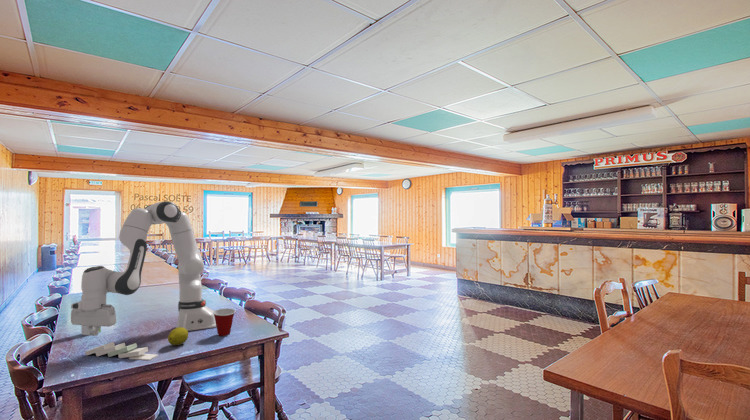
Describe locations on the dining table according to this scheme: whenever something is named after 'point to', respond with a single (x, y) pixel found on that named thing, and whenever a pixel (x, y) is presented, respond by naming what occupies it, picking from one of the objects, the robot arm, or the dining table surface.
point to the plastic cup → (224, 320)
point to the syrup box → (86, 330)
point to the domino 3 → (122, 350)
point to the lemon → (178, 336)
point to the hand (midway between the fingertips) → (93, 335)
